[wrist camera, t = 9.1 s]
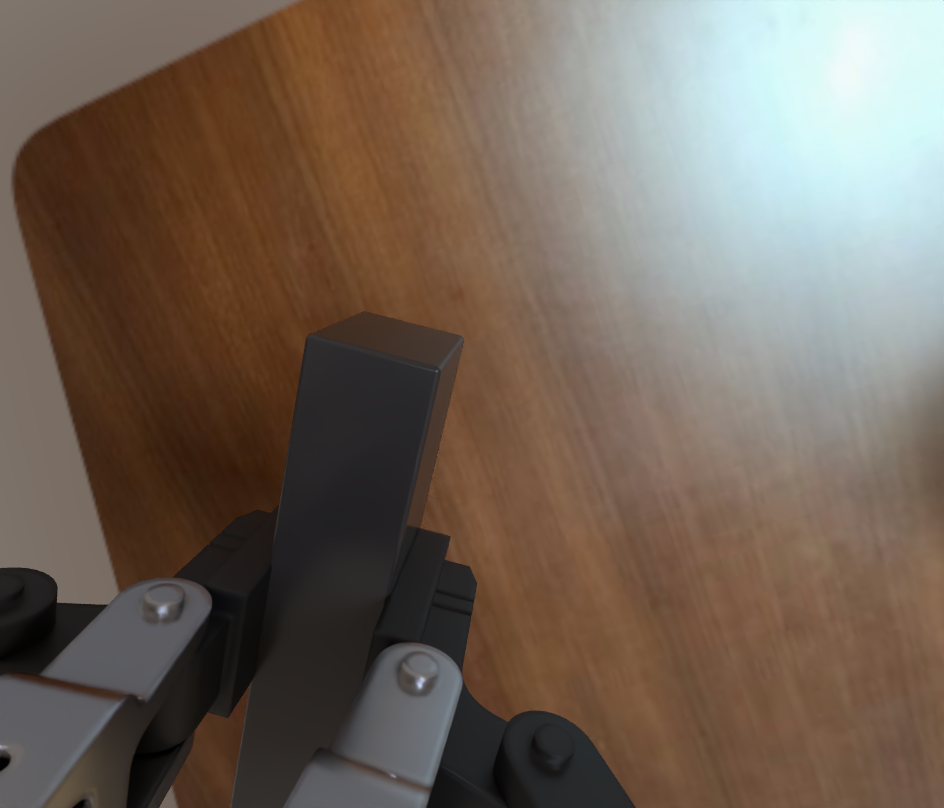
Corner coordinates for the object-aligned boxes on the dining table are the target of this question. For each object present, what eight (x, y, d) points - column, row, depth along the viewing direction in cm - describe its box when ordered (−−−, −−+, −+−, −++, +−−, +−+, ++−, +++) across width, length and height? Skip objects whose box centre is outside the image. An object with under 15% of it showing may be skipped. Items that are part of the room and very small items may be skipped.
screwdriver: (362, 309, 12) (305, 334, 9) (465, 336, 12) (441, 369, 9) (231, 1014, 17) (170, 1171, 14) (301, 1034, 17) (253, 1197, 14)
